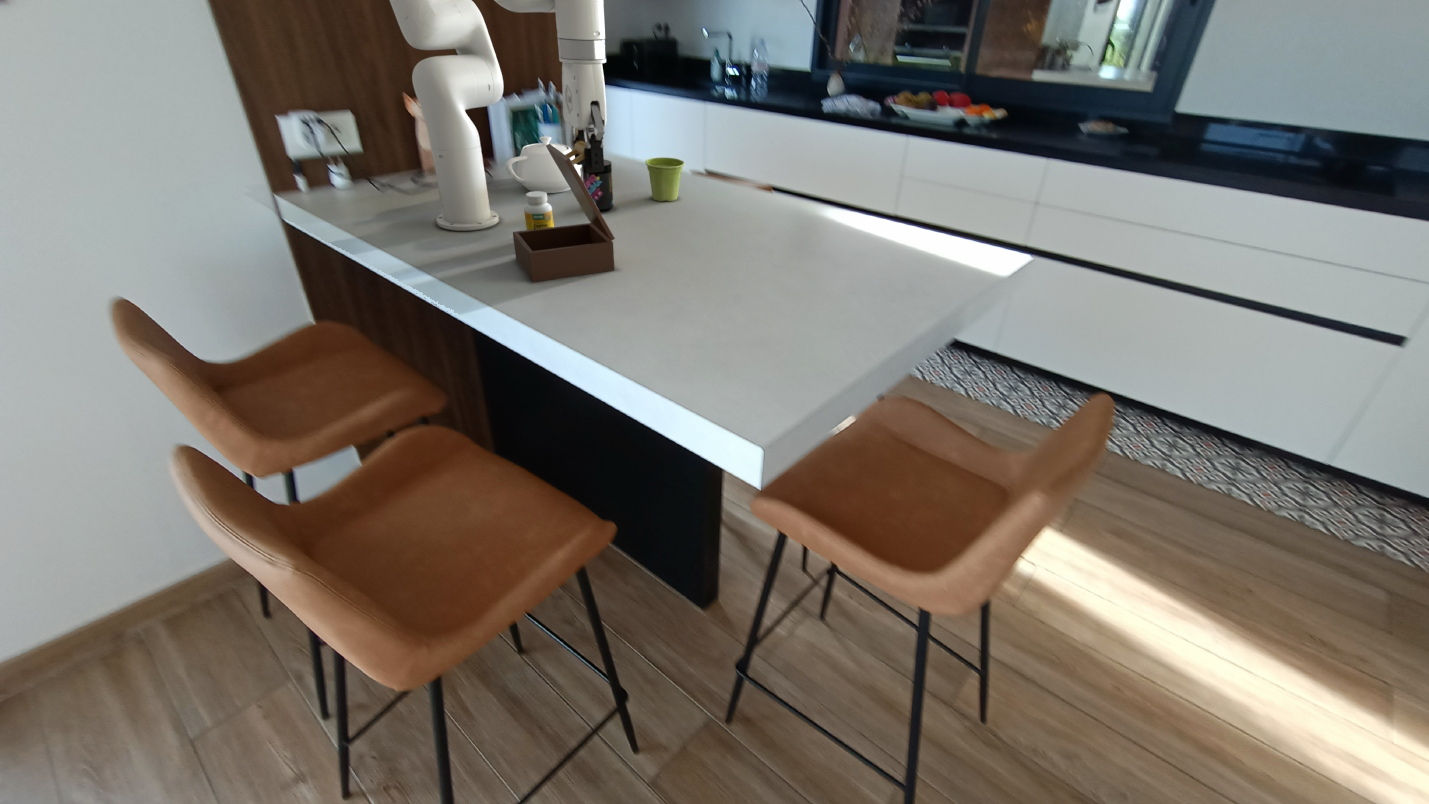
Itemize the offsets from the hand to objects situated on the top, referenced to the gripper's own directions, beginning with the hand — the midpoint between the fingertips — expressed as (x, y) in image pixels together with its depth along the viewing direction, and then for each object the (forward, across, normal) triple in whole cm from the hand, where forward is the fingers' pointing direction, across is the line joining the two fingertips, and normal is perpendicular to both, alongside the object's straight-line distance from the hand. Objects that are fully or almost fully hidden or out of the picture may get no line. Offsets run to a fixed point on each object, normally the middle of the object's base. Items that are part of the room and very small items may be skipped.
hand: (589, 166), depth 116 cm
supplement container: (+17, -31, +11) cm, 37 cm away
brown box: (+17, 0, -6) cm, 18 cm away
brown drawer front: (+4, 0, -2) cm, 5 cm away
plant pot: (+17, -34, +29) cm, 48 cm away
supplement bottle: (+17, -14, -7) cm, 23 cm away
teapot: (+17, -53, +6) cm, 56 cm away
